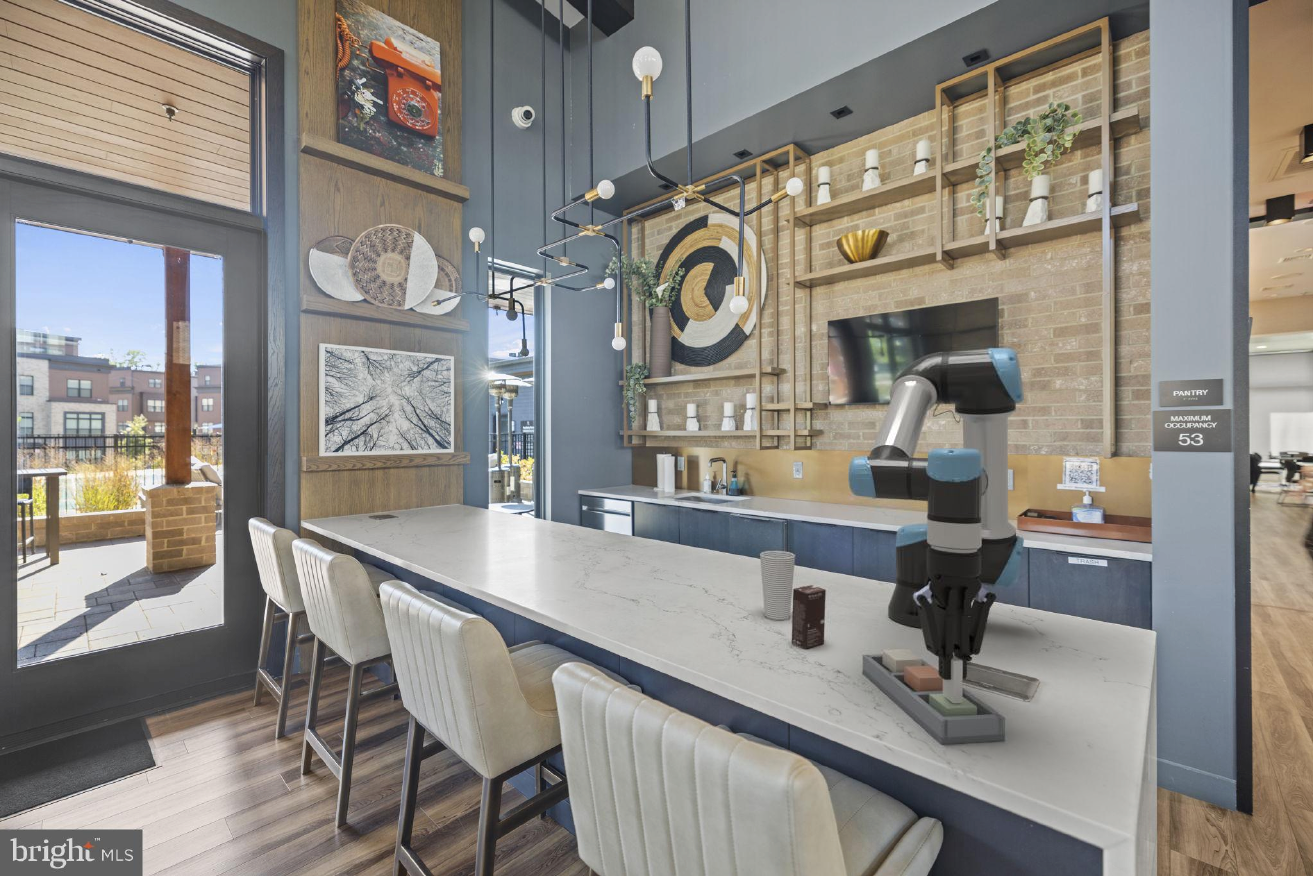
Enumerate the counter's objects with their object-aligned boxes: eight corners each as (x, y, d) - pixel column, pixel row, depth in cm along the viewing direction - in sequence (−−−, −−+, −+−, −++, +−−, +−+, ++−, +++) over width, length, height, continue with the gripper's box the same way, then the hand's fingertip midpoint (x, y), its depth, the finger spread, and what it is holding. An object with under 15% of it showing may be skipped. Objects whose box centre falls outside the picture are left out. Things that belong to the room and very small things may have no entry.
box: (807, 650, 121) (807, 593, 121) (791, 643, 125) (791, 588, 125) (826, 644, 124) (826, 588, 124) (810, 638, 128) (810, 584, 128)
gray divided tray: (912, 671, 110) (912, 653, 110) (1004, 740, 86) (1004, 717, 85) (862, 673, 109) (862, 655, 109) (941, 744, 84) (941, 720, 84)
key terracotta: (930, 679, 100) (930, 665, 100) (947, 692, 95) (947, 677, 95) (904, 680, 100) (904, 666, 100) (919, 693, 95) (919, 678, 95)
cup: (799, 615, 144) (799, 553, 144) (787, 624, 137) (788, 559, 137) (767, 609, 149) (767, 549, 149) (754, 618, 142) (754, 555, 142)
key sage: (957, 708, 93) (957, 692, 93) (976, 723, 88) (976, 707, 88) (928, 709, 92) (929, 694, 92) (947, 725, 87) (947, 708, 87)
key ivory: (907, 662, 108) (907, 649, 107) (921, 673, 103) (921, 659, 103) (882, 663, 107) (882, 650, 107) (895, 674, 102) (895, 660, 102)
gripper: (976, 542, 94) (975, 686, 94) (900, 543, 93) (899, 690, 93) (1009, 551, 87) (1008, 708, 87) (927, 553, 85) (926, 712, 85)
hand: (952, 698), depth 90 cm, fingers closed
